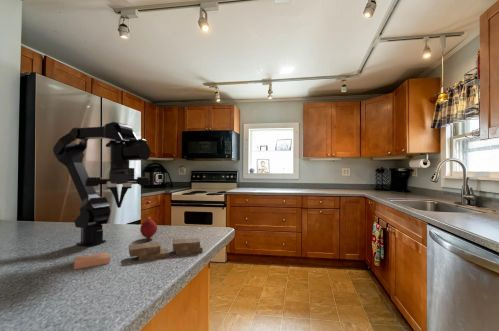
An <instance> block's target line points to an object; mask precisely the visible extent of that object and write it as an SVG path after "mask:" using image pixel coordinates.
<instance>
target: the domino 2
mask: <svg viewBox="0 0 499 331" xmlns="http://www.w3.org/2000/svg"><path fill="white" fill-rule="evenodd" d="M169 256H170V254H169V250H168V248H167V247H165V248H164V247H163V248H161V250H160V253H156V254H149V255H142V256H138V262H143V261H149V260H150V261H151V260H152V261H153V260H160V259H167V258H169Z"/></svg>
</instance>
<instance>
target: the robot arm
mask: <svg viewBox="0 0 499 331" xmlns="http://www.w3.org/2000/svg"><path fill="white" fill-rule="evenodd" d="M98 139H99V140H101V139H108V140H110V141H108V143H106V144H105V147H106V148H110V150H109V151H110V156H109V158H110V159H109V162H110V164H109V165H110V166H109V171H108V173H109V175H108V178H102V176H95V177H94V176H89V174H88V172H87V170H86V168H85V167H86V166H84V163H83V160H84V157H85V153H84V152H85V151H86V150H87V148H88V147H87V146H88V140H98ZM76 140H80V142H79V143H73V142H75V141H76ZM52 151H53V154H54V156H55V158H56V159H57V161H58V162H59V163H61V164H62V165H63V166H64V167H66V168H67V171H68V173H69V175H70V178H71V180H72V183H73V184H74V186H75V189H76V191H77V193H78V196H79V198H80V200H81V202H80V203H81V204H80V207H79V212H80V213H79V215H78V216H77V218H75V220H74V225H75V228H80V241H78V242H75V243H76V246H77V245H78V246H84V247H85V246H86V247H92V246H95V245H99V244H102V243H105V242H107V240H106V239H104V229H103V226H104V225H106V224H108V222H109V218H110V215H111V213H112V211H111V205H110V203H109V202H108V198H107V197H106V196H99V195H98V194H97V192H96V189H95V187H98V186H100V185H106V189H107V190H109V189H110V192H111V194H112V195H113V197H114V201H115V204H116V207H117V208H118V209H119V208H121V207H122V205H123V204H122V203H123V202H124V198H125V195H126V194H127V192H128V190H129V189H132V185H139V186H151V178H150V177H148V176H137V177H136V178H135V168H134V167H130V161H147V160H148V159H149V158H150V157H151V154H152V153H151V152H152V151H151V148H150V146H149V144H147V140H146V139H144V138H139V139H138V137H137V136H136V134H135V131H134V130H133V127H132V126H131V125H129V124H125V123H121V122H117V121H112V122H109V123H105V124H104V125H103V126H89V127H87V126H86V127H73V128H71V130H70V131H69V132H68V133H67V134H64V135H63V136H62V137H60V138H59V139H58V140H57V141H56V143H55V145H54V146H53V149H52ZM118 185H122V186H121V190H120V196H119V189H118Z"/></svg>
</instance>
